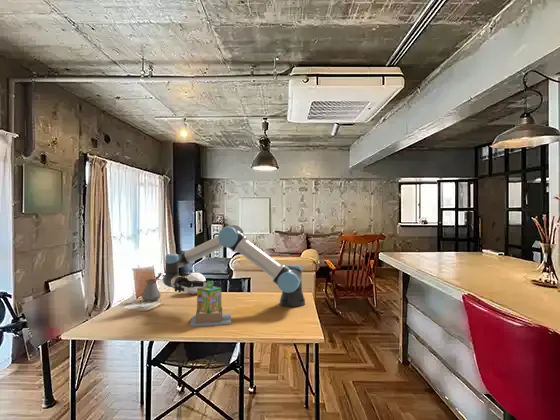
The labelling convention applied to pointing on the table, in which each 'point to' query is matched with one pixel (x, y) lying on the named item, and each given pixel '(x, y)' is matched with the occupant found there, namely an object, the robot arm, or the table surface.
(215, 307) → the chalk box
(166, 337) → the table surface
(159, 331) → the table surface
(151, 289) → the coffee pot
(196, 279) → the geometric shape
